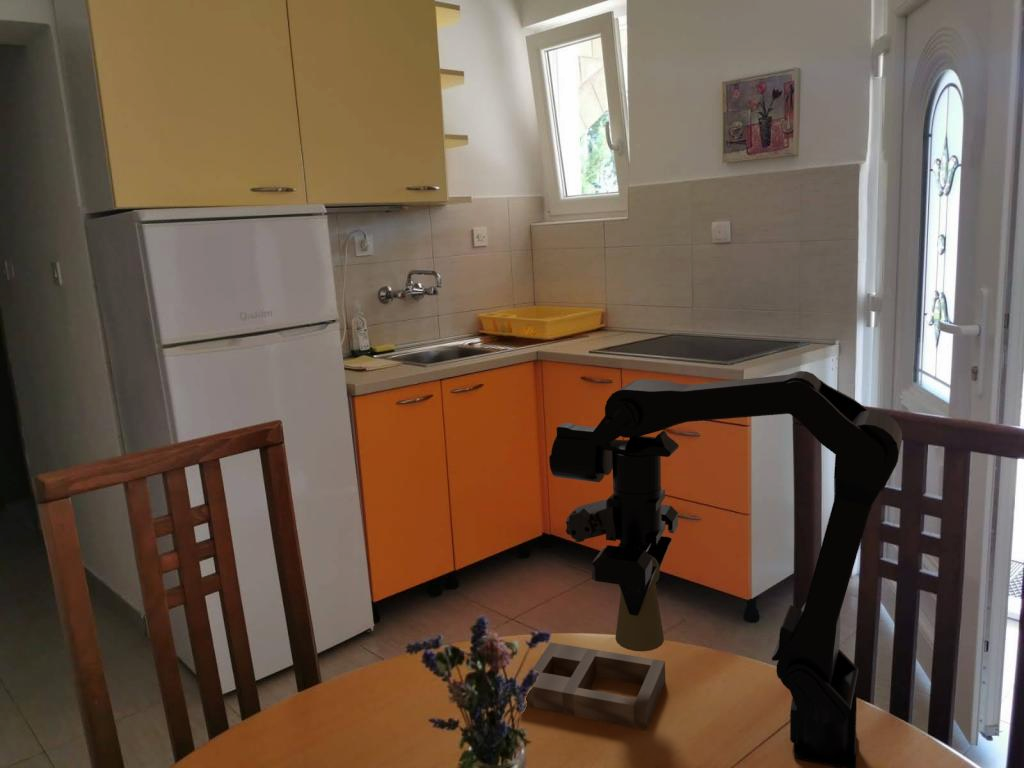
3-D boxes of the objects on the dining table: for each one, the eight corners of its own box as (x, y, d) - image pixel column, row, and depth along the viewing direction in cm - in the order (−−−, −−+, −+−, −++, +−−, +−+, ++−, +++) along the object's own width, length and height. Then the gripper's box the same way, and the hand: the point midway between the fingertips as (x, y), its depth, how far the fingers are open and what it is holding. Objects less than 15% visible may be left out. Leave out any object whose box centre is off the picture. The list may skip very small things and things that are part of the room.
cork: (650, 656, 95) (648, 572, 92) (606, 642, 98) (604, 560, 96) (672, 634, 99) (671, 553, 97) (629, 621, 103) (628, 542, 100)
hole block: (665, 681, 104) (664, 661, 104) (646, 730, 95) (645, 707, 94) (551, 661, 111) (550, 642, 110) (523, 705, 101) (521, 684, 101)
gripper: (595, 457, 106) (598, 565, 109) (546, 507, 89) (551, 632, 93) (678, 464, 101) (679, 576, 105) (643, 517, 85) (645, 648, 88)
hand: (638, 605), depth 98 cm, fingers closed on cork, 4 cm apart
